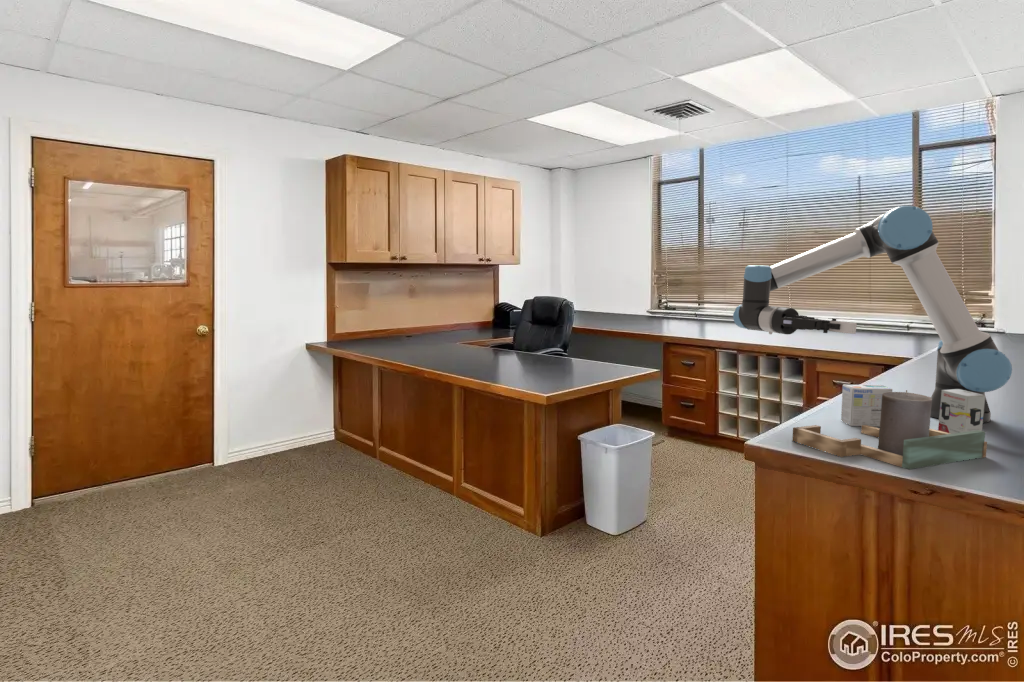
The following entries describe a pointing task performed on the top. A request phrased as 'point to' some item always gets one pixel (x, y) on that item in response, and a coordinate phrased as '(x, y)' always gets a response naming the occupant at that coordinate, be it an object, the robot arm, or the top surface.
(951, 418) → the ink box
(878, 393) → the light bulb box
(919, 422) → the pillar candle
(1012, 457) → the top surface
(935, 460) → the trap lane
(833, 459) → the top surface
